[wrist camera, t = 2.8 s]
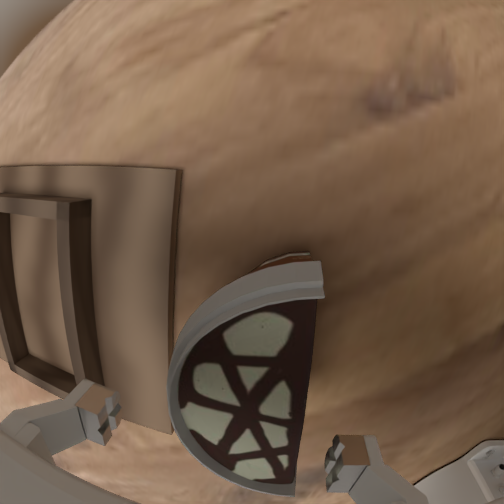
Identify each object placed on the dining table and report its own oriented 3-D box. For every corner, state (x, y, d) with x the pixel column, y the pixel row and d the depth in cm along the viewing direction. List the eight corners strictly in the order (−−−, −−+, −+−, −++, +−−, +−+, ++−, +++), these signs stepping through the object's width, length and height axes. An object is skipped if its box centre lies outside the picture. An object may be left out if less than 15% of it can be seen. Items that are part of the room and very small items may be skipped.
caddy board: (182, 170, 19) (158, 169, 15) (175, 427, 24) (162, 453, 21) (-18, 168, 21) (-43, 170, 18) (3, 353, 26) (-14, 365, 23)
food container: (210, 224, 19) (131, 269, 10) (310, 226, 18) (326, 278, 9) (218, 385, 22) (177, 486, 12) (298, 391, 21) (293, 501, 12)
